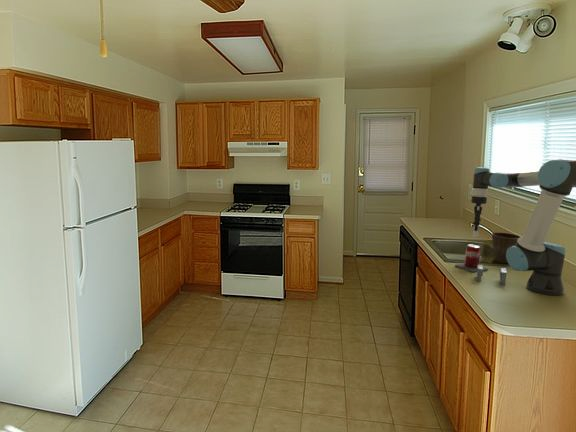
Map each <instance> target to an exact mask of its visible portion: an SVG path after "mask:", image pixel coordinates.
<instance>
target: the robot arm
mask: <svg viewBox="0 0 576 432" xmlns="http://www.w3.org/2000/svg"><path fill="white" fill-rule="evenodd" d="M472 182H473V183H472V189H470V190H471V193H472V194H471V195H472V196H471V203H472V204H475V206H474V208H473V210H474V211H473V213H474V220H473V222H472V225H473V228H472V229H473V230H472V237H473V238H476V237H477V238H479V231H480V222H481V221H482V219H481V215H482V210H483V206H482V205H485V204H487V201H488V197H487V196H488V194H489V193H488V192H489V187H492V188H499V189H501V188H524V187H533V186H534V187H536V186H539V189H540V190H541V192H540V194H539V195H538V199H537V202H536V203H535V206H534V208H533V211H532V213H531V215H530V218H529V221H528V223H527V225H526V228H525V231H524V232H523V235H522V237H521V238H519V239H518V240H517V243H516V245H515V246H512V247H509V248H508V250H507V252H506V258H507V261H508V263H507V265H509V267H510V268H511V269H512V270H514V271H517V272H529V271H532V273H531V275H530V276H529V278H528V280H527V283H526V288H527V289H528V290H530V291H531V292H535V293H537V294H543V295H547V296H561V295H564V292H565V289H564V284H563V280H562V279H563V278H562V275H563V267H564V261H565V256H566V248H565V247H564V246H563V245H560V244H557V243H554V242H553V243H552V242H548V241H546V239H547V236H548V234H549V232H550V230H551V227H552V225H553V223H554V220H555V218H556V215H557V214H558V211H559V209H560V207H561V205H562V203H563V200H564V198H565V197H568V196H570V195H571V192H572V190H573V188H576V159H562V158H557V159H551V160H548V161H546V162H545V163H543V164H542V165H541V167H540V168H539V170H538V169H537V170H529V171H518V172H500V171H499V172H496V171H494V172H493V171H491V169H490V167H485V166H484V167H483V166H482V167H479V166H477V167H475V168H474V173H473V181H472Z"/></svg>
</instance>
